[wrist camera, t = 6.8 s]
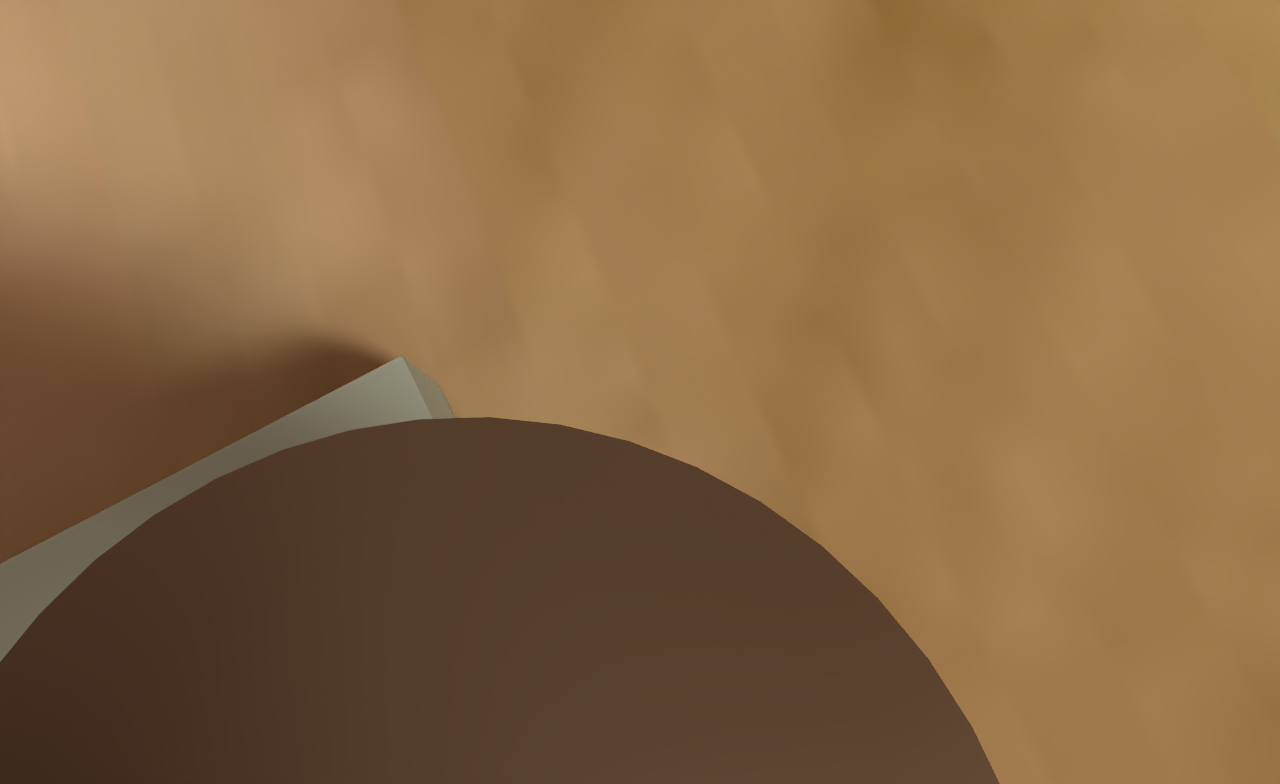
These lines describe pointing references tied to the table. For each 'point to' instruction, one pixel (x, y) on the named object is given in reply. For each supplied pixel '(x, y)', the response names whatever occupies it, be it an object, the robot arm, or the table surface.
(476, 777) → the stool leg
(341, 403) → the seat board
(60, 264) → the table surface
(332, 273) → the table surface
